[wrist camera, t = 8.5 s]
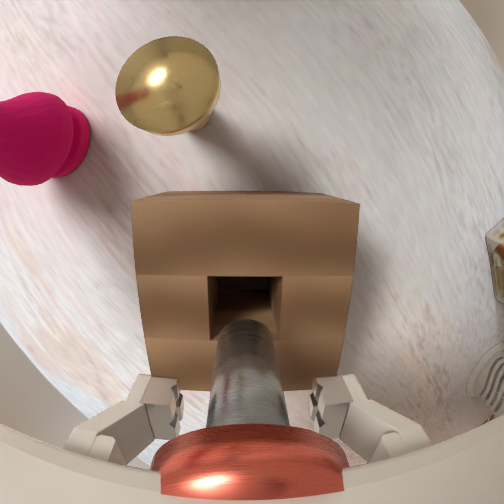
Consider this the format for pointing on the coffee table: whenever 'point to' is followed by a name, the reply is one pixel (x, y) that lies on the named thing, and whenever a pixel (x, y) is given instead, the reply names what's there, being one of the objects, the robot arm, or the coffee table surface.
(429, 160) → the coffee table surface
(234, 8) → the coffee table surface
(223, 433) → the red round-headed grey cylinder
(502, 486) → the robot arm
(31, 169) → the pepper mill
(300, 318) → the hitch block
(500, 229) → the coffee box
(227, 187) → the coffee table surface
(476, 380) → the french press
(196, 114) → the brass pin
